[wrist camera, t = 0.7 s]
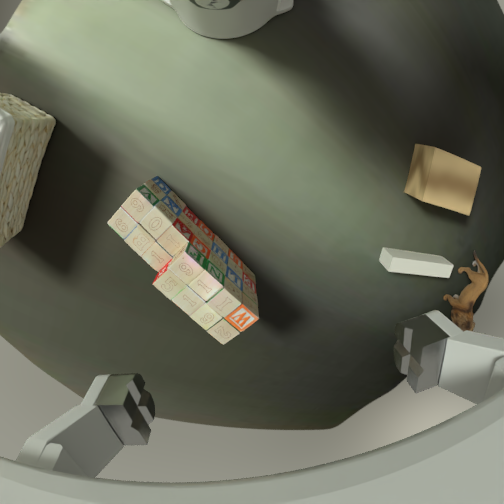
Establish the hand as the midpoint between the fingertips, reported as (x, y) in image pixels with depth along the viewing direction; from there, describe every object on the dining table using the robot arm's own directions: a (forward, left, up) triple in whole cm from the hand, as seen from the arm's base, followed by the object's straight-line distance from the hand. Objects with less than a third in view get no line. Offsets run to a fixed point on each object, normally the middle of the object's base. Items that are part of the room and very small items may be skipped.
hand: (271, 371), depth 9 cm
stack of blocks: (+10, -7, -37) cm, 39 cm away
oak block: (-6, +29, -37) cm, 47 cm away
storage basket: (0, -42, -37) cm, 56 cm away
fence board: (+9, +29, -37) cm, 48 cm away
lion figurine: (+13, +43, -37) cm, 58 cm away
